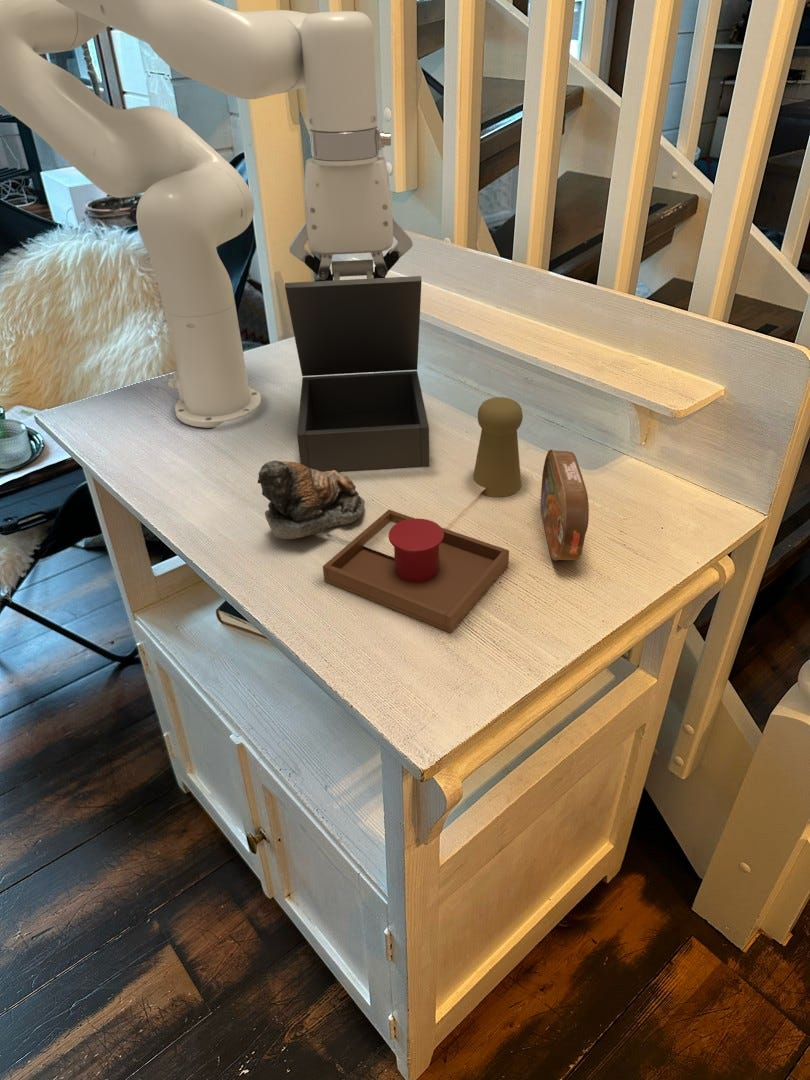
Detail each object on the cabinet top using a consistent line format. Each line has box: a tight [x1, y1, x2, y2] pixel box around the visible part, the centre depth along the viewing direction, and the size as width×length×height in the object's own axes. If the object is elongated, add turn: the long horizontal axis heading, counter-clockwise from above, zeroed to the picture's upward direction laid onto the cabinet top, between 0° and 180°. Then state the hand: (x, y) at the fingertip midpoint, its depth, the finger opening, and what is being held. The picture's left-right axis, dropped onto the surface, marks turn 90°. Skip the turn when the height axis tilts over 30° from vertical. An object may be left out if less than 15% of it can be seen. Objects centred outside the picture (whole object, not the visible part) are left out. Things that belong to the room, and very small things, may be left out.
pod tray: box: [322, 509, 510, 634], centre depth 79 cm, size 15×12×2 cm
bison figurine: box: [257, 460, 366, 540], centre depth 84 cm, size 12×7×10 cm, turn 124°
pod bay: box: [296, 370, 430, 473], centre depth 100 cm, size 17×16×6 cm
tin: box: [540, 449, 590, 561], centre depth 82 cm, size 15×3×8 cm, turn 178°
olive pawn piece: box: [472, 396, 524, 498], centre depth 90 cm, size 6×6×11 cm
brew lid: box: [284, 259, 423, 377], centre depth 98 cm, size 18×16×5 cm
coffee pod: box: [388, 517, 444, 582], centre depth 78 cm, size 6×6×4 cm
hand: (355, 305), depth 95 cm, fingers closed on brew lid, 5 cm apart
